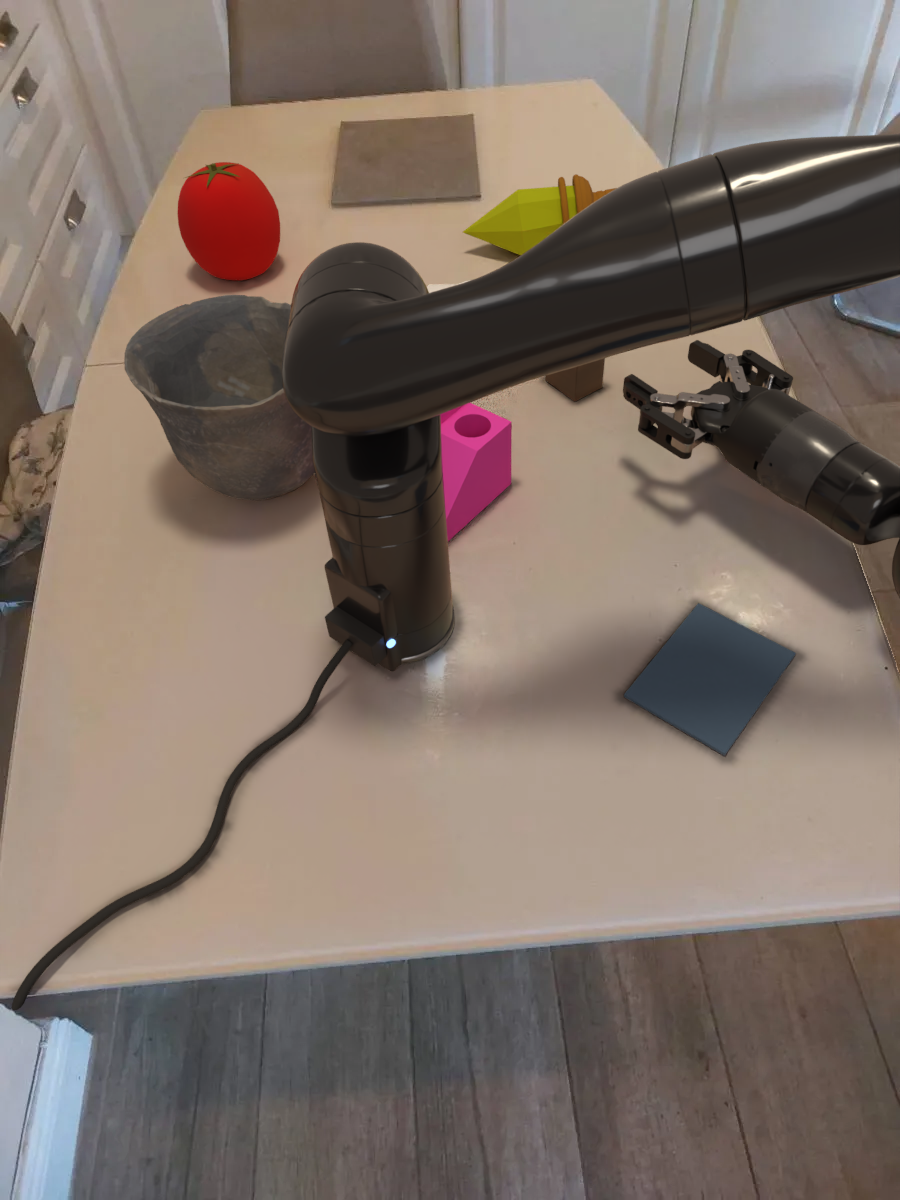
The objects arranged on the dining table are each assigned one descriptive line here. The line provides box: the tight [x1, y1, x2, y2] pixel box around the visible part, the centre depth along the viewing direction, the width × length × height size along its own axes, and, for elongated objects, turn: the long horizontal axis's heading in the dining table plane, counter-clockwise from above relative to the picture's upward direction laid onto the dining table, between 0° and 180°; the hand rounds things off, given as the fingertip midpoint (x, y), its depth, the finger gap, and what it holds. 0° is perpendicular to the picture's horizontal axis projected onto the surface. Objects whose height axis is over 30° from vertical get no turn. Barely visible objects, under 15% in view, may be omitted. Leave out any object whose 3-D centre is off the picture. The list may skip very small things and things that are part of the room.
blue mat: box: [623, 602, 797, 757], centre depth 74 cm, size 12×9×1 cm
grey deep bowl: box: [123, 294, 315, 501], centre depth 87 cm, size 18×18×15 cm
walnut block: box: [544, 358, 606, 402], centre depth 97 cm, size 5×4×9 cm
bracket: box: [441, 402, 513, 542], centre depth 86 cm, size 12×10×10 cm
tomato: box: [176, 161, 281, 281], centre depth 114 cm, size 13×11×14 cm
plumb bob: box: [462, 173, 617, 256], centre depth 116 cm, size 9×9×25 cm
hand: (658, 366), depth 87 cm, fingers open, 8 cm apart
